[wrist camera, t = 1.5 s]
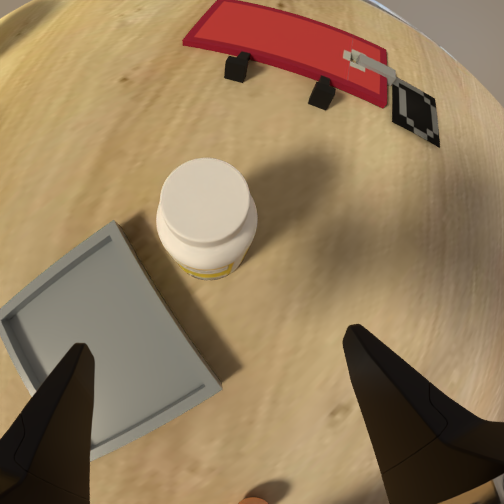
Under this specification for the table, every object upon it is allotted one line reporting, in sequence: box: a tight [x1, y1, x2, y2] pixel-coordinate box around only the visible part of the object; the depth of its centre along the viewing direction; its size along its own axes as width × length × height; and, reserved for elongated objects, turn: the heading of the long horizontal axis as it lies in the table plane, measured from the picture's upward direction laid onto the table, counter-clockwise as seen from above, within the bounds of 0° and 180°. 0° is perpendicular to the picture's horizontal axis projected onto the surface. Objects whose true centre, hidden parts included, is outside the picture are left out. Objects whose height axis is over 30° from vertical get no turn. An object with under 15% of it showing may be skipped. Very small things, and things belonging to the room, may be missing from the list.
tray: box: [0, 220, 222, 462], centre depth 19 cm, size 14×14×2 cm
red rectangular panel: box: [182, 0, 440, 148], centre depth 27 cm, size 30×3×15 cm
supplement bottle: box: [156, 158, 258, 280], centre depth 17 cm, size 5×5×10 cm
